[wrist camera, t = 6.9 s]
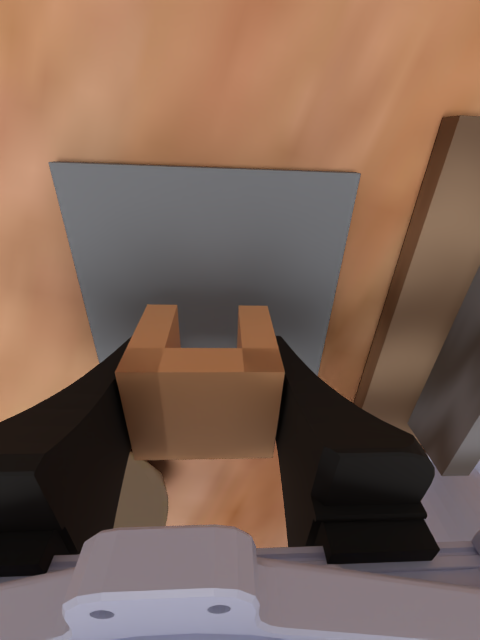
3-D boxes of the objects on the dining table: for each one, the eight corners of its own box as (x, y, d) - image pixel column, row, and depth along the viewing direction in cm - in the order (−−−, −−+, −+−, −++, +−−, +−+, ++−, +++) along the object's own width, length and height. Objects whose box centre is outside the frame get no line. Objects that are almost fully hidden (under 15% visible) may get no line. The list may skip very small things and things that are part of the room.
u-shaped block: (260, 379, 14) (272, 457, 11) (157, 379, 14) (134, 460, 11) (267, 305, 12) (284, 372, 9) (147, 304, 12) (114, 372, 9)
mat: (305, 411, 20) (308, 419, 19) (117, 413, 19) (114, 421, 18) (355, 172, 12) (360, 173, 12) (56, 161, 12) (48, 162, 11)
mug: (51, 508, 24) (-59, 637, 14) (121, 407, 25) (62, 465, 15) (129, 554, 25) (76, 708, 15) (196, 455, 26) (187, 540, 16)
